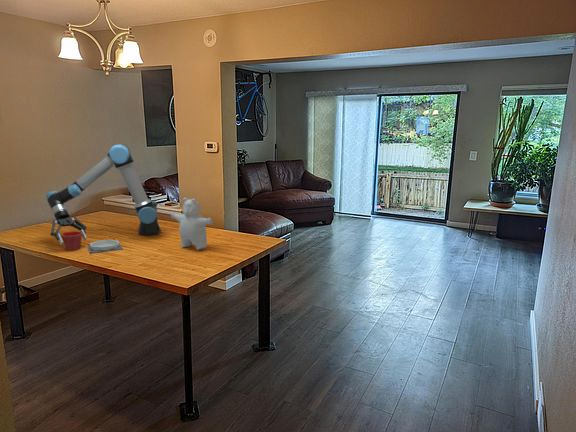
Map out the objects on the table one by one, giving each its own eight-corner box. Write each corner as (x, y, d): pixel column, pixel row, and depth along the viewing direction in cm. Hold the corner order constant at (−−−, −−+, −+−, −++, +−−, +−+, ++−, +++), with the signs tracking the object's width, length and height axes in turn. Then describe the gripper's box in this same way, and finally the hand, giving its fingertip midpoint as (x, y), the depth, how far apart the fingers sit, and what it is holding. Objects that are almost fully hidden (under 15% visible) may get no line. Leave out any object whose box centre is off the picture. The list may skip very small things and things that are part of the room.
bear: (163, 246, 251) (160, 196, 244) (180, 241, 263) (178, 193, 257) (205, 255, 234) (204, 202, 227) (221, 249, 246) (220, 198, 240)
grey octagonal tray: (118, 242, 258) (118, 238, 257) (123, 249, 243) (122, 245, 242) (87, 245, 249) (87, 241, 248) (90, 253, 234) (89, 249, 233)
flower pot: (87, 248, 244) (85, 232, 242) (69, 252, 235) (68, 236, 233) (76, 245, 249) (75, 230, 247) (59, 249, 240) (57, 234, 238)
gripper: (80, 214, 257) (93, 240, 251) (37, 220, 238) (50, 249, 232) (83, 207, 253) (96, 233, 247) (39, 212, 234) (53, 241, 228)
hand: (74, 241), depth 240 cm, fingers open, 13 cm apart
